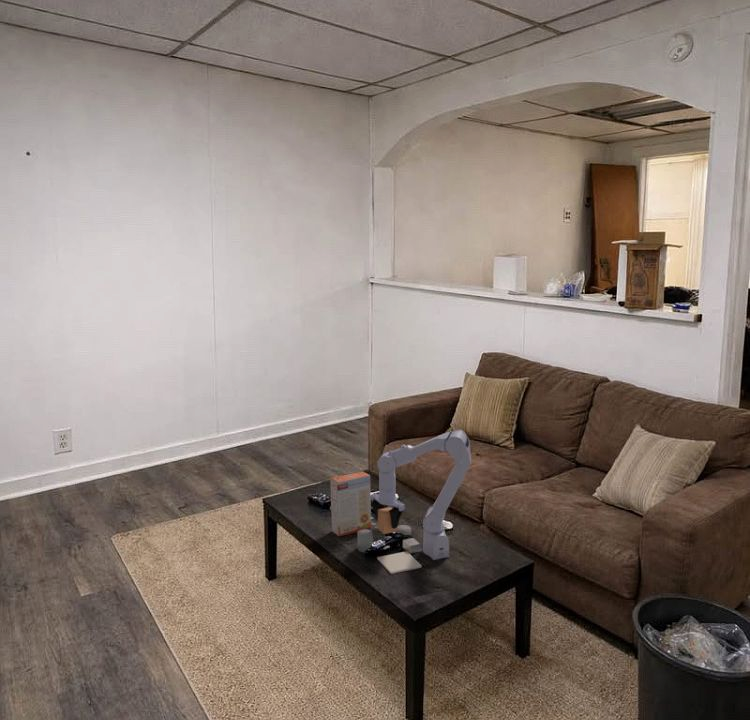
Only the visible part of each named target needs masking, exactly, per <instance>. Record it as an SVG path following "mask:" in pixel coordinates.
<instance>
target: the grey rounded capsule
mask: <svg viewBox="0 0 750 720" xmlns="http://www.w3.org/2000/svg"><path fill="white" fill-rule="evenodd" d="M356 533H357V539H356V540H357V551H358V552H361V553H366V552H365V551H366V550H367V549H368V548H370V547H371V546H372V544H373V531H372V530H370V529H363V530H359V531H358V532H356Z"/></svg>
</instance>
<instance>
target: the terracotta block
mask: <svg viewBox="0 0 750 720" xmlns="http://www.w3.org/2000/svg"><path fill="white" fill-rule="evenodd" d="M391 509H393V507H391V506H389V507H384V508H383V509H378V522H377V529H378V530H379V531H380V532H381V533H382V534H383V535H386V534H390V533H395V532H396V531H397V527H396V528H394V529H393V528H392V524H391V516H390V513H389V510H391Z"/></svg>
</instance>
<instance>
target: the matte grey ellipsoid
mask: <svg viewBox="0 0 750 720" xmlns="http://www.w3.org/2000/svg"><path fill="white" fill-rule="evenodd" d="M396 532H398V533H402V534H404V535H411V536H412V527H411V526H410V525H406V524H398V526H397V531H396Z"/></svg>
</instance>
